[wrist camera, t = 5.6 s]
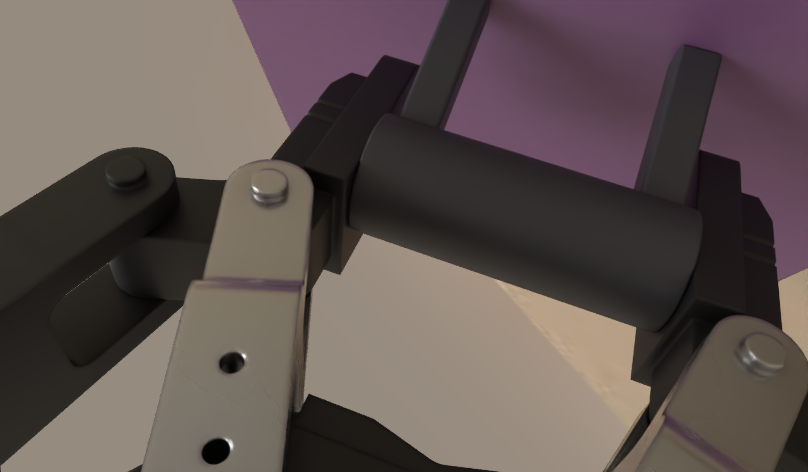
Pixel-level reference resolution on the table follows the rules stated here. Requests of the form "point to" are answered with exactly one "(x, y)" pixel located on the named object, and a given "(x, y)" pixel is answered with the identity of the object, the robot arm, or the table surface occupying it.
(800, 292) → the table surface
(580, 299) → the lid
